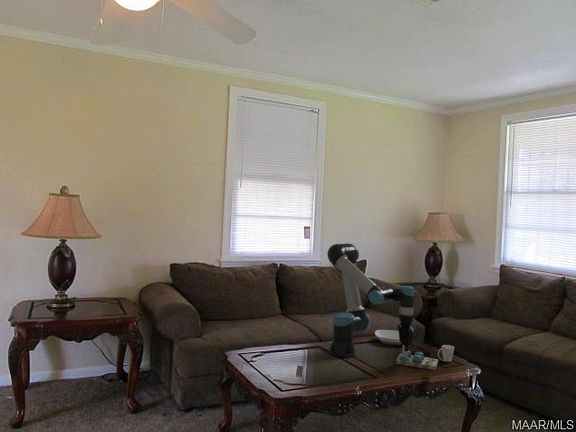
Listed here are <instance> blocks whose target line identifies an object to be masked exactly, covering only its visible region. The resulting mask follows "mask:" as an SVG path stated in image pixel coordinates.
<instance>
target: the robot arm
mask: <svg viewBox="0 0 576 432" xmlns="http://www.w3.org/2000/svg"><path fill="white" fill-rule="evenodd" d="M359 257H360V252H359V249H358V247H357V246H356V245H354V244H352V243H335V244H333V245H331V246H330V247H329V248H328V250H327V258H328V261H329V263H330V264H331V265H332V266H333V267H335V269H338V270H340V271H341V274H342V281H343V286H344V287H343V288H344V292H345V293H344V294H345V298H346V305H347V308H346V310H345V311H343V312H338V313H336V314H334V316H333V320H332V321H333V326H332V327H333V329H332V330H333V332H332V333H333V334H332V342H331V345H330V347H329V354H330V355H331V356H333V357H337V358H341V359H342V358H353V357H355V356H356V354H357V353H356V352H357V351H356V348H355V343H354V335H355V334H358V333H363V332H364V331H367V330H368V328H370V325H371V317H370V315H369V314H368V312H366V309H365V307H363V305H362V300H361V295H360V294H361V293H360V290H361V291H362V292H364V293H365V294H366V295H367V298H368V300H369V302H370V304H373V305H381V304H383V303H388V302H396V303H399V312H398V313H399V315H398V318H399V319H398V321H400V323H398V324H396V325H397V328H398V330H397V331H399V340H400V342H401V343H402V344H401V350H402V352H401V354H402V356H403V357H408V350H409V346H411V345H412V342H413V337H414V333H415V331H416V329H415V328H413V325H412V323H413V322H414V305H415V304H414V302H415V301H414V299H415V288H414V287H413V286H410V285H400V288H395V287H390V286H382V287H381V288H380V287H379V286H378V285H377V284H376V283H375V282H374V281H373V280H372V279H370V278H369V277H368V276H367V275H366V274H365V273H364V272H363V271H361V269H359V267H357V265H358V260H359Z"/></svg>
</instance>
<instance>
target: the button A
mask: <svg viewBox="0 0 576 432" xmlns="http://www.w3.org/2000/svg"><path fill="white" fill-rule="evenodd" d="M400 360H401V361H408V362H409V357H403V356H401V359H400Z"/></svg>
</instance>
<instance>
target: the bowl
mask: <svg viewBox="0 0 576 432" xmlns="http://www.w3.org/2000/svg"><path fill="white" fill-rule="evenodd" d="M374 335H375V337H376V338H377V339H378V340H379V341H380V342H381V343H382V344H383V345H391V346H402V343H401V342H400V340H399V330H391V329H377V330H375V331H374Z"/></svg>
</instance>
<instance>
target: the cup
mask: <svg viewBox="0 0 576 432" xmlns="http://www.w3.org/2000/svg"><path fill="white" fill-rule="evenodd" d="M441 351H442V352H441ZM454 351H455V347H454V346H453V345H450V344H443V345H441V348H439V349H438V352H437V357H438V359H439V360H441V361H443V362H447V363H450V361H451V362H452V359H453V357H454ZM440 352H441V353H442V357H443V359H442V358H441V357H440Z"/></svg>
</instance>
